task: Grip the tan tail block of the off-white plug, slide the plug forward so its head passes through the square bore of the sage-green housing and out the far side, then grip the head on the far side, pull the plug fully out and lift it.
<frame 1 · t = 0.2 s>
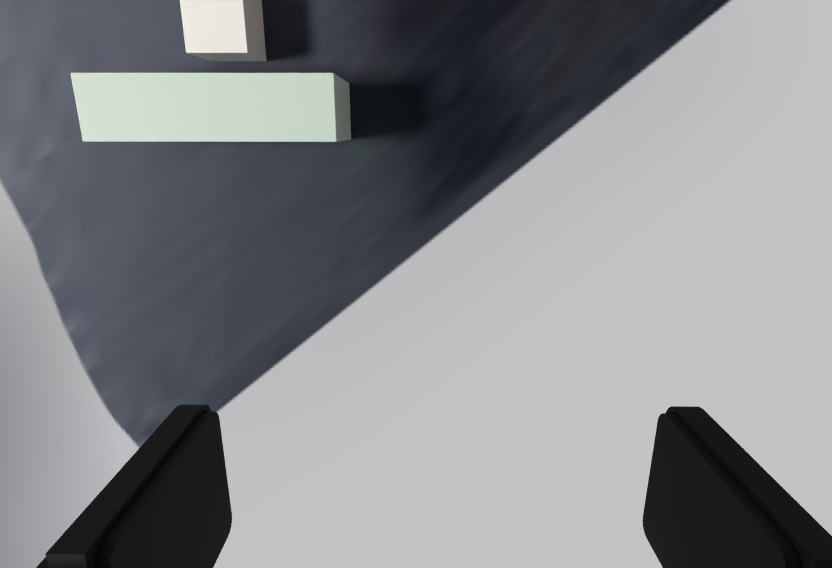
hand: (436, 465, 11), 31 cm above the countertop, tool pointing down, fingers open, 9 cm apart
housing: (243, 111, 38), on the countertop
plug: (236, 31, 36), on the countertop
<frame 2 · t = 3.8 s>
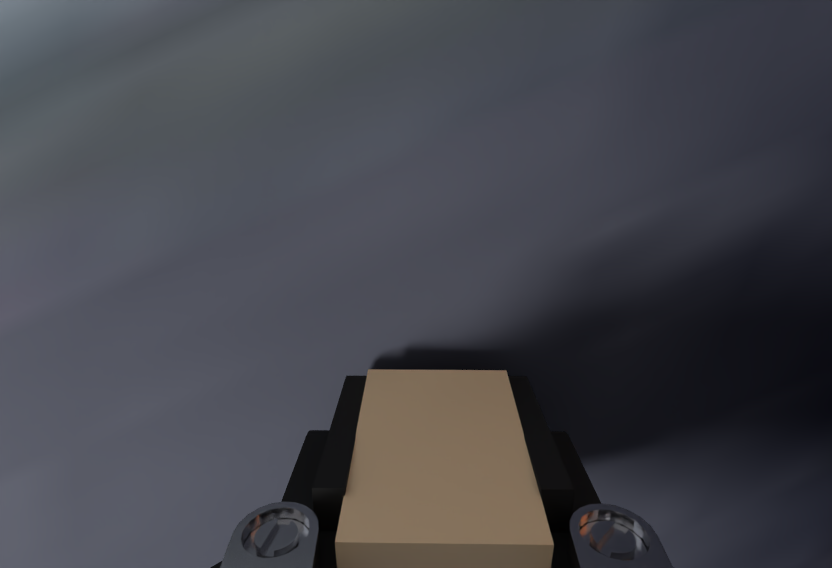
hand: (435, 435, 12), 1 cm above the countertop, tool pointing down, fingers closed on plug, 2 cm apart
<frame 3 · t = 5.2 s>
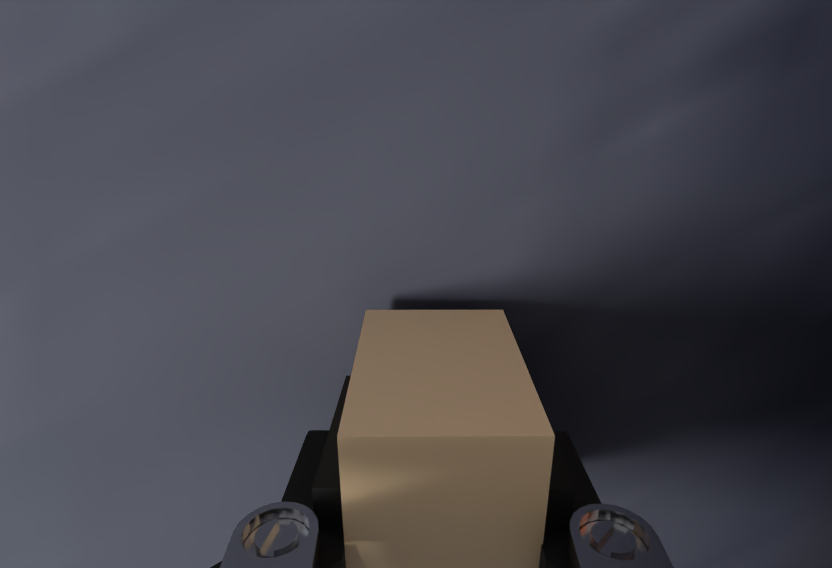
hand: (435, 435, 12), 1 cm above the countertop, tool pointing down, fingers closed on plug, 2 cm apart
when the fingers open (1 cm above the countertop, at t = 7.0 s): plug stays where it is, on the countertop.
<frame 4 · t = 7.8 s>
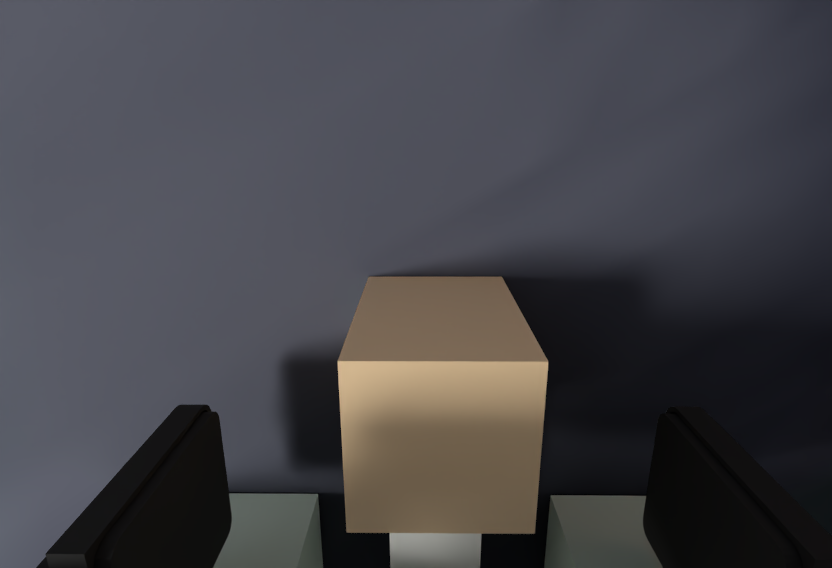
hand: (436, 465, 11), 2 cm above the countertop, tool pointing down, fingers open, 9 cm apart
housing: (433, 556, 14), on the countertop
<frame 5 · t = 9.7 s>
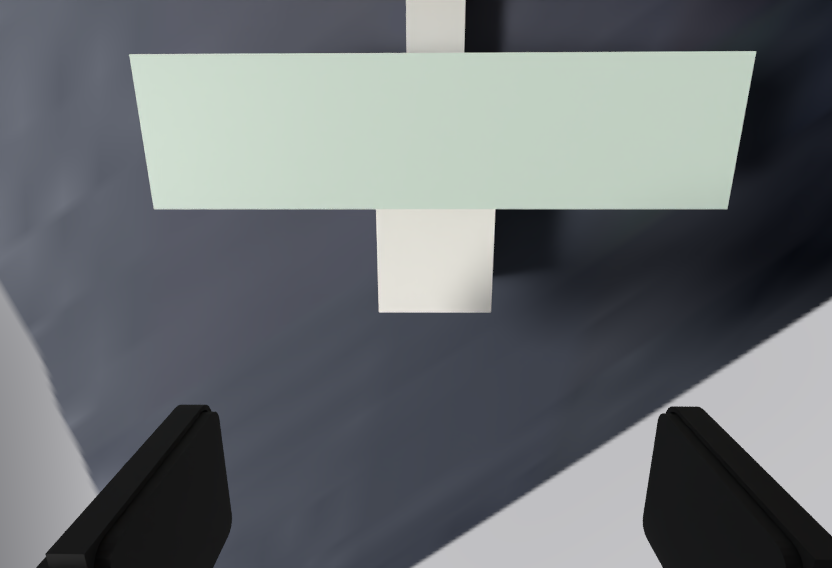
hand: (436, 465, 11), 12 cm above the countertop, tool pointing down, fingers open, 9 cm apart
housing: (434, 130, 20), on the countertop
plug: (432, 233, 21), on the countertop
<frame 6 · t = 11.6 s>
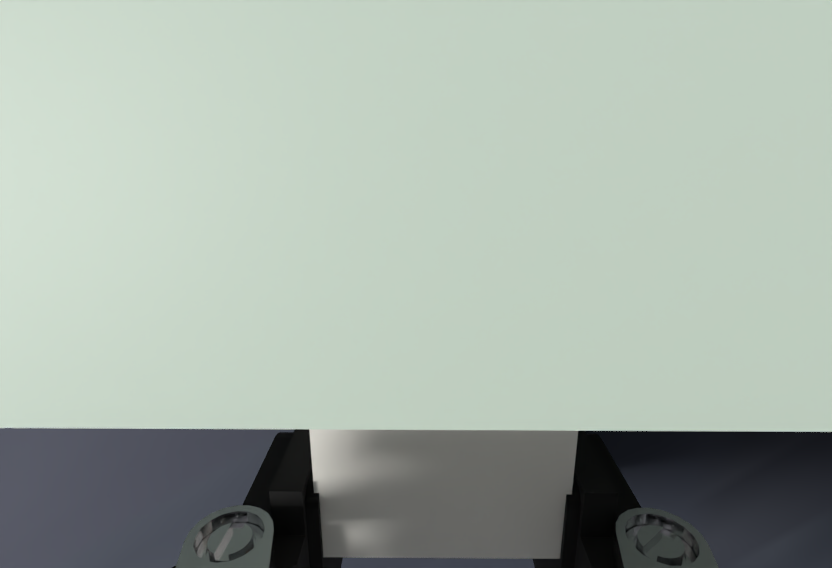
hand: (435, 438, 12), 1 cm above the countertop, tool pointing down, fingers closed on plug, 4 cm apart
housing: (438, 153, 10), on the countertop
plug: (435, 341, 12), on the countertop, touching gripper
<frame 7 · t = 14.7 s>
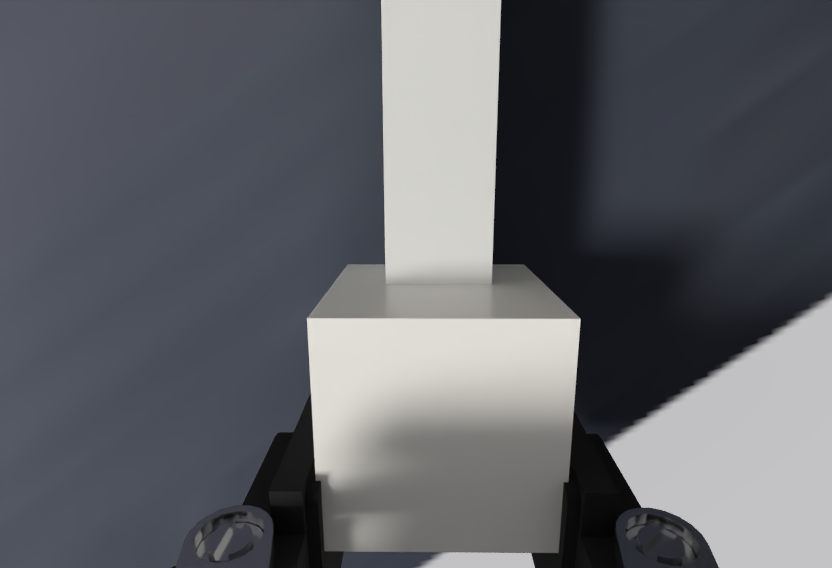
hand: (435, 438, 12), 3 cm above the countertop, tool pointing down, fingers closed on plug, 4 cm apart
plug: (435, 347, 12), point 2 cm above the countertop, touching gripper, housing
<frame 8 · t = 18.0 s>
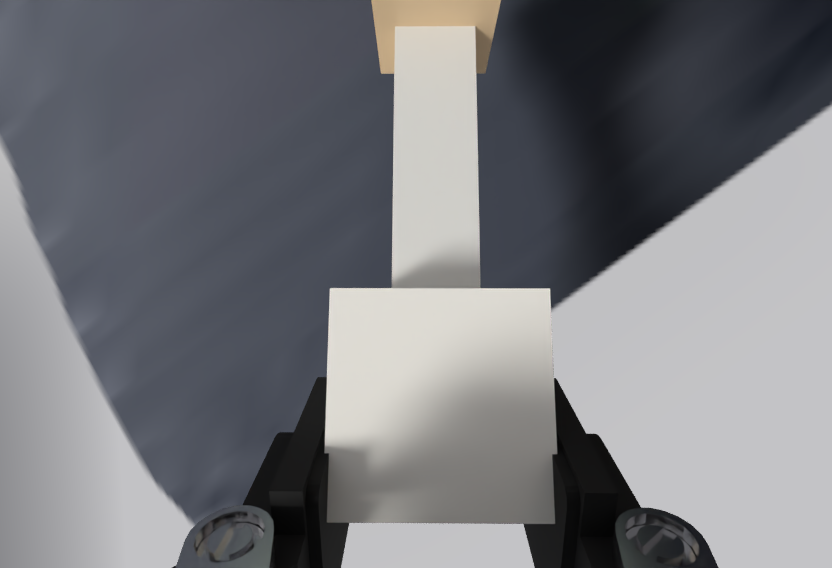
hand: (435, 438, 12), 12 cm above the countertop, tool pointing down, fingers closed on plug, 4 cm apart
plug: (434, 392, 13), point 11 cm above the countertop, tilted 27°, touching gripper
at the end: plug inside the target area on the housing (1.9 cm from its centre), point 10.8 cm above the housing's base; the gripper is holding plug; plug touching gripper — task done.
